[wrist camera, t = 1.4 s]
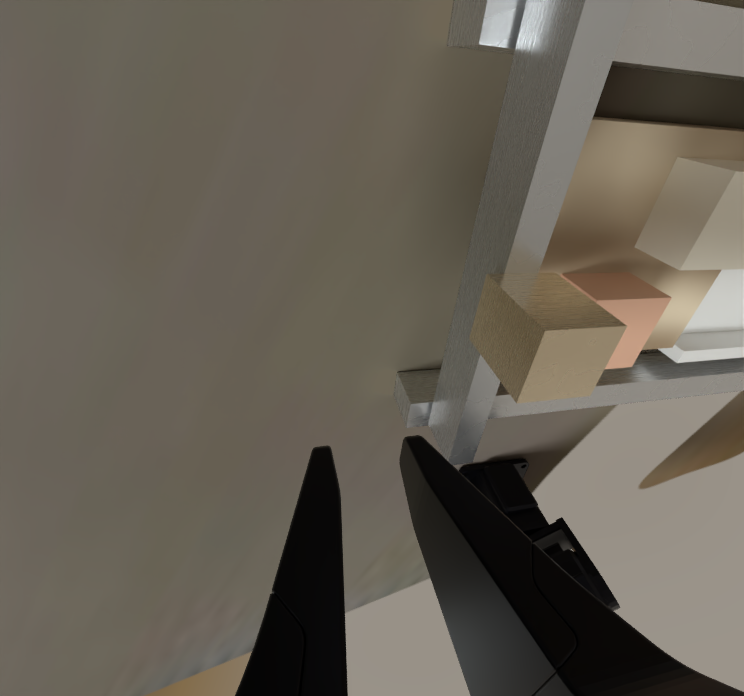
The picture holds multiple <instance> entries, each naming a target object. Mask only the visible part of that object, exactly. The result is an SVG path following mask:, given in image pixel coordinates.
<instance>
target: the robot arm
mask: <svg viewBox="0 0 744 696" xmlns="http://www.w3.org/2000/svg"><path fill="white" fill-rule="evenodd" d="M528 466H529V463H528V462H527V460H526V459H519V460H512V461H505V462H497V463H490V464H483V465H476V466H468V467H463V468H461V469H460V470H459V471H458V470H457V469H456V468H455V467H454V466H453V465H452V464H451V463H450V462H448V461H447V460H446V459H445V458H444V457H443V456H442V455H441V454H440V453H439V452H438V451H437V450H436V449H435V448H434V447H433V446H432V445H431V444H429V443H428V442H427V441H426V440H425V439H424V438H423V437H422V436H419V435H416V436H407V437H405V438H404V440H403V444H402V449H401V455H400V469H401V473H402V478H403V482H404V487H405V492H406V496H407V501H408V505H409V510H410V514H411V519H412V523H413V527H414V530H415V533H416V537H417V540H418V543H419V545H420V548H421V551H422V554H423V557H424V560H425V563H426V566H427V569H428V572H429V575H430V578H431V581H432V583H433V586H434V590H435V593H436V595H437V598H438V601H439V604H440V607H441V610H442V613H443V616H444V619H445V622H446V625H447V628H448V631H449V634H450V637H451V639H452V642H453V645H454V648H455V651H456V654H457V657H458V660H459V663H460V666H461V669H462V672H463V675H464V678H465V681H466V683H467V687H468V690H469V692H470V695H471V696H744V692H742V691H740V690H737V689H735V688H733V687H731V686H728V685H726V684H724V683H721V682H719V681H717V680H714V679H712V678H709V677H707V676H705V675H703V674H701V673H699V672H697V671H695V670H693V669H691V668H689V667H687V666H686V665H684V664H682V663H681V662H679V661H677V660H675V659H674V658H673V657H671V656H670V655H668V654H667V653H665V652H664V651H663V650H661V649H660V648H658V647H657V646H656V645H655V644H653V643H652V642H651V641H649V640H648V639H647V638H646V637H645V636H643V635H642V634H641V633H639V632H638V631H637V630H636V629H635V628H633V627H632V626H631V625H630V624H628V623H627V622H626V621H625V620H623V619H622V618H621V617H620V616H619V615H617V614H616V613H615V612H614V610H617V609H619V608H620V606H619V604H618V602H617V600H616V599H615V597H614V596H613V594H612V592H611V591H610V589H609V587H608V586H607V584H606V583H605V581H604V579H603V578H602V576H601V575H600V573H599V572H598V570H597V569H596V567H595V566H594V564H593V563H592V561H591V560H590V558H589V557H588V555H587V554H586V552H585V551H584V549H583V548H582V546H581V545H580V543H579V542H578V541H577V539H576V537H575V536H574V534H573V533H572V531H571V530H570V528H569V527H568V525H567V524H566V523H565V521H564V520H563V518H559V519H557V520H556V522H554V523H552V524H550V525H549V524H548V522H547V521H546V519H545V517H544V516H543V514H542V513H541V511H540V509H539V507H538V504H537V502H536V500H535V498H534V497H533V495H532V494H531V492H530V490H529V489H528V487H527V485H526V484H525V482H524V481H523V477H524V475H525V473H526V470H527V468H528ZM571 549H572V550H573V551H574V552H573V551H572V550H571ZM235 696H348V693H347V665H346V634H345V606H344V577H343V548H342V519H341V496H340V488H339V483H338V478H337V473H336V469H335V464H334V460H333V455H332V450H331V447H330V446H320V447H314V448H313V450H312V453H311V456H310V460H309V463H308V466H307V470H306V473H305V477H304V480H303V484H302V487H301V491H300V494H299V498H298V501H297V505H296V508H295V512H294V515H293V518H292V522H291V525H290V529H289V532H288V536H287V539H286V543H285V546H284V550H283V553H282V556H281V560H280V563H279V567H278V570H277V574H276V577H275V581H274V584H273V588H272V593H271V594H270V597H269V601H268V604H267V608H266V611H265V614H264V618H263V621H262V624H261V627H260V630H259V633H258V636H257V639H256V643H255V645H254V648H253V651H252V653H251V656H250V659H249V662H248V664H247V667H246V669H245V672H244V675H243V677H242V680H241V682H240V685H239V687H238V690H237V692H236V695H235Z"/></svg>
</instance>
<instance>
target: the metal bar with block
mask: <svg viewBox="0 0 744 696" xmlns="http://www.w3.org/2000/svg"><path fill="white" fill-rule="evenodd" d="M633 1H634V0H527V1H526V5H525V9H524V13H523V18H522V22H521V26H520V31H519V35H518V39H517V44H516V48H515V52H514V57H513V61H512V65H511V69H510V74H509V78H508V82H507V87H506V91H505V95H504V100H503V104H502V108H501V112H500V117H499V121H498V125H497V130H496V134H495V138H494V143H493V147H492V151H491V155H490V160H489V164H488V168H487V173H486V177H485V181H484V186H483V190H482V194H481V199H480V203H479V207H478V211H477V216H476V220H475V224H474V229H473V233H472V237H471V242H470V246H469V250H468V254H467V259H466V263H465V267H464V272H463V276H462V280H461V285H460V289H459V293H458V298H457V302H456V306H455V310H454V315H453V319H452V323H451V328H450V332H449V336H448V341H447V345H446V349H445V353H444V358H443V362H442V366H441V371H440V375H439V379H438V384H437V388H436V392H435V396H434V401H433V405H432V409H431V414H430V418H429V422H428V424H429V426H430V429H431V431H432V433H433V435H434V437H435V440H436V442H437V444H438V446H439V448H440V451H441V453H442V455H443V457H444V458H445V459H446V460H447V461H448V462H450V463H451V464H452V465H456V464H463V463H471V462H473V459H474V456H475V453H476V450H477V447H478V444H479V441H480V439H481V436H482V433H483V430H484V427H485V424H486V421H487V419H488V416H489V413H490V410H491V407H492V404H493V401H494V399H495V396H496V393H497V390H498V387H499V384H500V382H501V383H502V384H503V386H504V387H505V389H506V390H507V391H508V393H509V394H510V395H511V397H512V398H513V399H514V401H515V402H516V404H517V403H527V402H537V401H547V400H556V399H566V398H576V397H586V396H591V394H592V392H593V390H594V388H595V386H596V384H597V382H598V380H599V379H600V377H601V375H602V373H603V371H604V369H605V367H606V365H607V364H608V362H609V360H610V358H611V356H612V354H613V352H614V350H615V349H616V347H617V345H618V343H619V341H620V339H621V337H622V335H623V334H624V332H625V330H626V328H627V325H625V324H624V323H623V322H621V321H620V320H619V319H617V318H616V317H615V316H613V315H612V314H611V313H609V312H608V311H606V310H605V309H604V308H602V307H601V306H600V305H598V304H597V303H596V302H594V301H593V300H592V299H590V298H589V297H588V296H586V295H585V294H584V293H582V292H581V291H579V290H578V289H577V288H575V287H574V286H573V285H571V284H570V283H569V282H567V281H566V280H565V279H563V278H562V277H561V276H559V275H558V274H557V273H555V272H550V273H539V270H540V267H541V264H542V261H543V259H544V256H545V253H546V250H547V247H548V244H549V241H550V239H551V236H552V233H553V230H554V227H555V224H556V221H557V219H558V216H559V213H560V210H561V207H562V204H563V201H564V199H565V196H566V193H567V190H568V187H569V184H570V181H571V179H572V176H573V173H574V170H575V167H576V164H577V161H578V159H579V156H580V153H581V150H582V147H583V144H584V141H585V139H586V136H587V133H588V130H589V127H590V124H591V121H592V118H593V116H594V113H595V110H596V107H597V104H598V101H599V98H600V96H601V93H602V90H603V87H604V84H605V81H606V78H607V76H608V73H609V70H610V67H611V64H612V61H613V58H614V56H615V53H616V50H617V47H618V44H619V41H620V38H621V36H622V33H623V30H624V27H625V24H626V21H627V18H628V16H629V13H630V10H631V7H632V4H633Z"/></svg>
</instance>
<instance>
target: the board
mask: <svg viewBox="0 0 744 696" xmlns="http://www.w3.org/2000/svg"><path fill="white" fill-rule="evenodd" d="M677 157H685V158H702V159H719V160H735V161H744V129H738V128H726V127H714V126H702V125H690V124H678V123H666V122H654V121H642V120H630V119H618V118H606V117H594V116H593V118H592V121H591V124H590V127H589V130H588V133H587V136H586V139H585V141H584V144H583V147H582V150H581V153H580V156H579V159H578V161H577V164H576V167H575V170H574V173H573V176H572V179H571V181H570V184H569V187H568V190H567V193H566V196H565V199H564V201H563V204H562V207H561V210H560V213H559V216H558V219H557V221H556V224H555V227H554V230H553V233H552V236H551V239H550V241H549V244H548V247H547V250H546V253H545V256H544V259H543V261H542V264H541V267H540V270H539V273H550V272H555V273H557V274H558V275H559V276H560V275H561V274H574V273H623V272H630V273H631V274H633V275H635V276H636V277H638V278H640V279H641V280H643V281H645V282H646V283H648V284H650V285H652V286H653V287H655V288H657V289H658V290H660V291H662V292H663V293H665V294H667V295H668V296H670V297H672V298H671V300H670V302H669V304H668V305H667V307H666V309H665V311H664V312H663V314H662V316H661V317H660V319H659V321H658V323H657V324H656V326H655V328H654V329H653V331H652V333H651V335H650V336H649V338H648V340H647V342H646V343H645V345H644V347H643V348H642V350H648V349H661V348H673V346H674V345H675V343H676V341H677V340H678V338H679V337H680V335H681V333H682V332H683V330H684V329H685V327H686V326H687V324H688V322H689V321H690V319H691V318H692V316H693V315H694V313H695V311H696V310H697V308H698V307H699V305H700V303H701V302H702V300H703V299H704V297H705V296H706V294H707V292H708V291H709V289H710V288H711V286H712V284H713V283H714V281H715V280H716V278H717V277H718V275H719V273H720V272H721V270H678V269H676V268H674V267H672V266H670V265H668V264H666V263H664V262H662V261H660V260H658V259H656V258H654V257H653V256H651V255H649V254H647V253H645V252H643V251H641V250H639V249H637V248H635V244H636V242H637V240H638V238H639V236H640V234H641V232H642V230H643V228H644V226H645V224H646V222H647V219H648V217H649V215H650V213H651V211H652V209H653V207H654V205H655V203H656V201H657V199H658V197H659V194H660V192H661V190H662V188H663V186H664V184H665V182H666V180H667V178H668V176H669V174H670V172H671V169H672V167H673V165H674V163H675V161H676V159H677Z"/></svg>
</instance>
